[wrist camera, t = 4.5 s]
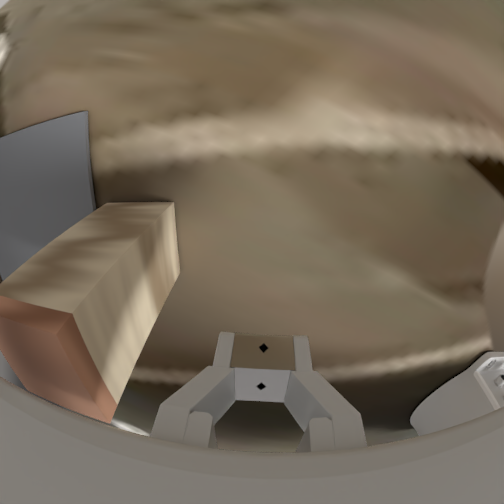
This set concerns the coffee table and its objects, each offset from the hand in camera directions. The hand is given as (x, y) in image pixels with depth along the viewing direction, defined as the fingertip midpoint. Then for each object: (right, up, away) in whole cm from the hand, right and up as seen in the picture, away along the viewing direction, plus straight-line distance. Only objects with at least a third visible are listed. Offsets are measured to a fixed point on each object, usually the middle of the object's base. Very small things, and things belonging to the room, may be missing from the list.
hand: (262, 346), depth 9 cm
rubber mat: (-19, +5, +9) cm, 22 cm away
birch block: (-8, +4, +9) cm, 12 cm away
